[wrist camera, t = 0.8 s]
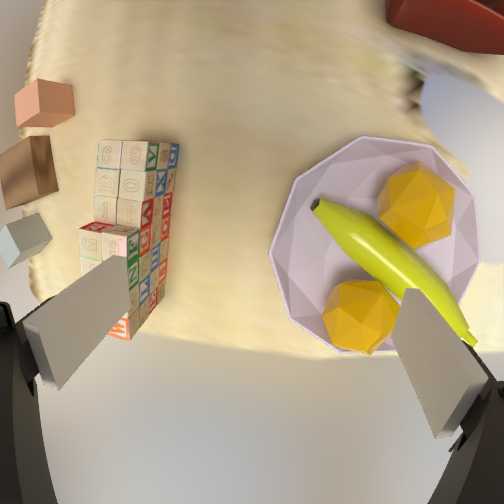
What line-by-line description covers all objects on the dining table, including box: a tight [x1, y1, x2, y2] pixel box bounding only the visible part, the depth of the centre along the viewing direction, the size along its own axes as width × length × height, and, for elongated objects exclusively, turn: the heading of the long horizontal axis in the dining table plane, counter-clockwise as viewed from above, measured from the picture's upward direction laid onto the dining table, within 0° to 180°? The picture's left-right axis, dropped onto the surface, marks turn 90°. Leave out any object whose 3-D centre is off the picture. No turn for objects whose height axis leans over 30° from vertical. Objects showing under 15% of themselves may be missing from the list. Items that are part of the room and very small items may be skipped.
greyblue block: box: [0, 213, 52, 269], centre depth 38 cm, size 5×5×8 cm
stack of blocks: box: [79, 140, 179, 341], centre depth 34 cm, size 21×6×12 cm, turn 171°
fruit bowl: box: [268, 136, 480, 355], centre depth 32 cm, size 28×27×11 cm
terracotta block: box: [15, 79, 75, 127], centre depth 32 cm, size 5×5×8 cm
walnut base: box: [0, 136, 59, 210], centre depth 37 cm, size 9×9×5 cm
